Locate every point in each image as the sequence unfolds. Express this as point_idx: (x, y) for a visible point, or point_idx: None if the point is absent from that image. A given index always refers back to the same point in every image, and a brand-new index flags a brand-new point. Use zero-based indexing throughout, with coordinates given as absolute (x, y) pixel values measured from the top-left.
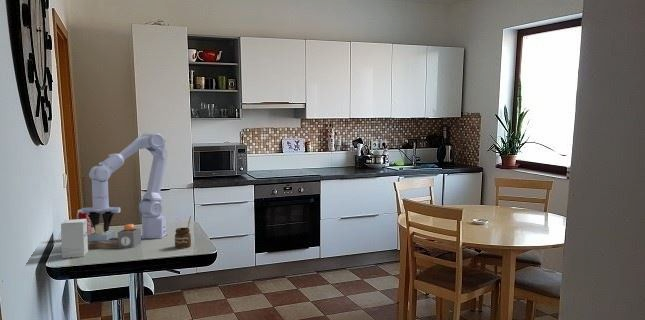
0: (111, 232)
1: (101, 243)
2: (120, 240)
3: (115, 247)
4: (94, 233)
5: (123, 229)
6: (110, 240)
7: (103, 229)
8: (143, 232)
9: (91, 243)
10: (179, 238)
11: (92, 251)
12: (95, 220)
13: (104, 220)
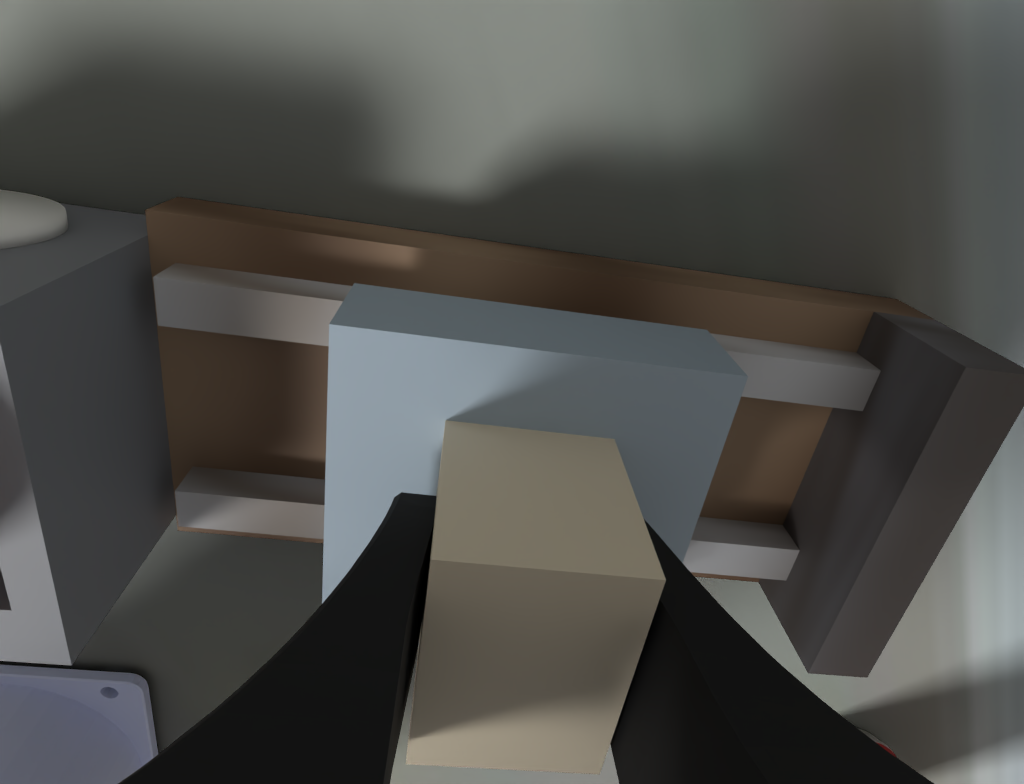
0: (331, 544)
1: None
2: (59, 244)
3: (213, 202)
4: (654, 506)
5: (53, 589)
6: (316, 340)
7: (438, 498)
8: (52, 763)
9: None
10: None
11: (545, 2)
12: (707, 749)
13: (349, 690)
